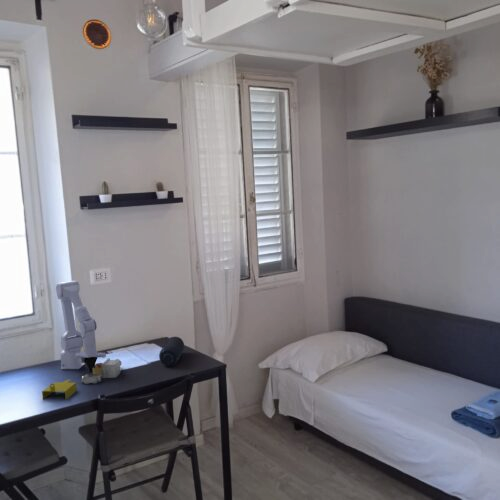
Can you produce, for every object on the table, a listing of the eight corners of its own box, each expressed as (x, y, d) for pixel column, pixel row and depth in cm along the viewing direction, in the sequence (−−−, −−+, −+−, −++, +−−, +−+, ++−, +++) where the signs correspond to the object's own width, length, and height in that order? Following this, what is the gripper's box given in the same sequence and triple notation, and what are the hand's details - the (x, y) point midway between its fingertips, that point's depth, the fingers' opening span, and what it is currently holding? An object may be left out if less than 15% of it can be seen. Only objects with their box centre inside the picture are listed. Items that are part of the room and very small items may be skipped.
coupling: (102, 378, 249) (101, 364, 248) (113, 368, 262) (112, 355, 262) (115, 378, 248) (113, 364, 247) (124, 368, 262) (123, 354, 261)
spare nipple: (81, 384, 243) (80, 377, 242) (83, 381, 246) (83, 374, 246) (99, 383, 243) (99, 376, 242) (101, 380, 246) (101, 373, 246)
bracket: (85, 371, 238) (69, 383, 223) (86, 388, 239) (70, 401, 224) (52, 371, 240) (35, 383, 225) (54, 387, 241) (36, 400, 226)
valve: (93, 377, 251) (92, 365, 250) (97, 373, 256) (96, 362, 255) (111, 376, 250) (110, 365, 249) (115, 373, 255) (114, 361, 254)
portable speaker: (167, 353, 284) (165, 335, 283) (185, 352, 283) (184, 334, 282) (158, 368, 259) (157, 349, 258) (178, 368, 258) (177, 348, 257)
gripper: (71, 347, 249) (73, 375, 250) (101, 346, 247) (103, 374, 249) (77, 343, 256) (80, 370, 257) (106, 342, 254) (108, 369, 256)
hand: (91, 372), depth 253 cm, fingers closed
